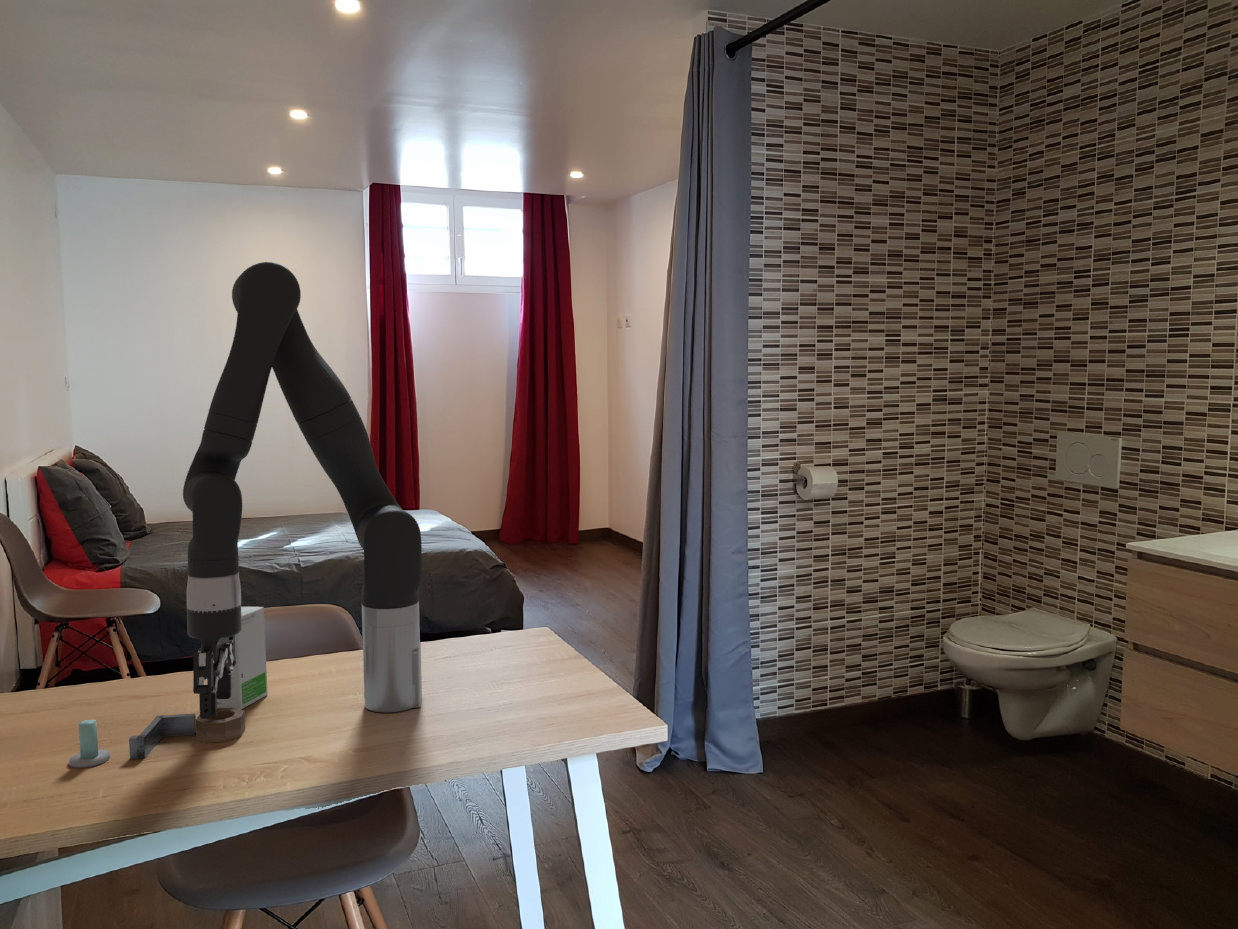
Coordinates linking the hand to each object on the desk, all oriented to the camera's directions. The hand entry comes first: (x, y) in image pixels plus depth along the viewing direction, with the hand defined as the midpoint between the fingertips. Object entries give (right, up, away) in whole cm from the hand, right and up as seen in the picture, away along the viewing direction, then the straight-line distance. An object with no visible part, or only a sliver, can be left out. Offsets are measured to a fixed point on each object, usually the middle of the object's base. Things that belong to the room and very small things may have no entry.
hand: (216, 707), depth 139 cm
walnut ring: (+1, -4, 0) cm, 4 cm away
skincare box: (-3, -3, +15) cm, 16 cm away
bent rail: (-6, -5, -4) cm, 8 cm away
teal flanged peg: (-14, -5, -9) cm, 17 cm away
